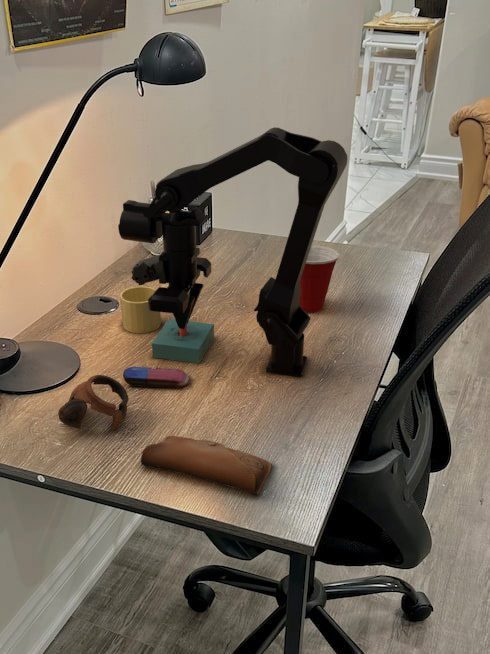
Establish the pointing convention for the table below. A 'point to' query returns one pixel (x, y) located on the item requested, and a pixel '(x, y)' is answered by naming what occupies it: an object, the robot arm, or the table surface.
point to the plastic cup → (317, 277)
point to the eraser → (155, 377)
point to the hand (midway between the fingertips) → (183, 326)
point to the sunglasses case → (208, 462)
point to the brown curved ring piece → (93, 402)
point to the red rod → (183, 331)
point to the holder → (183, 341)
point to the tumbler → (138, 310)
